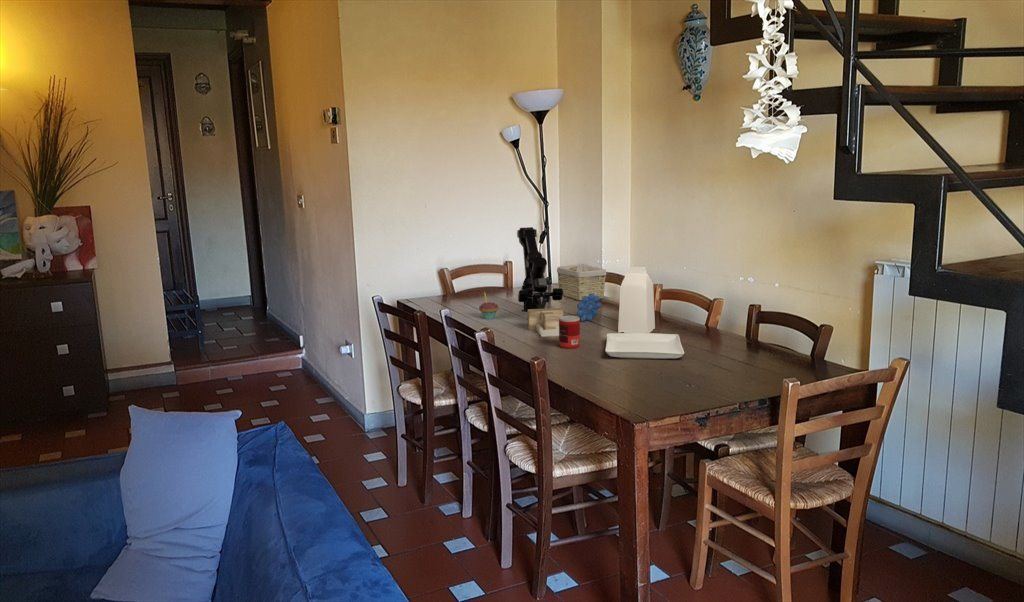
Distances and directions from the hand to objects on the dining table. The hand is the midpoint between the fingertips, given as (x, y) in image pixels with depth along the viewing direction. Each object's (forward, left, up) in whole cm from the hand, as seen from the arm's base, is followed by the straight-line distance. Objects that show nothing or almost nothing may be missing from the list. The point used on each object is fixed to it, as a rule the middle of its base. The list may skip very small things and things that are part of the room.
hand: (543, 311), depth 317 cm
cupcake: (-29, 0, -6) cm, 30 cm away
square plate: (+54, -14, -7) cm, 56 cm away
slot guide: (+9, -9, -6) cm, 14 cm away
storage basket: (-21, +64, -6) cm, 67 cm away
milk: (+37, +13, -6) cm, 39 cm away
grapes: (+11, +18, -6) cm, 22 cm away
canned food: (+28, -23, -6) cm, 36 cm away
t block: (+7, -7, -6) cm, 11 cm away
